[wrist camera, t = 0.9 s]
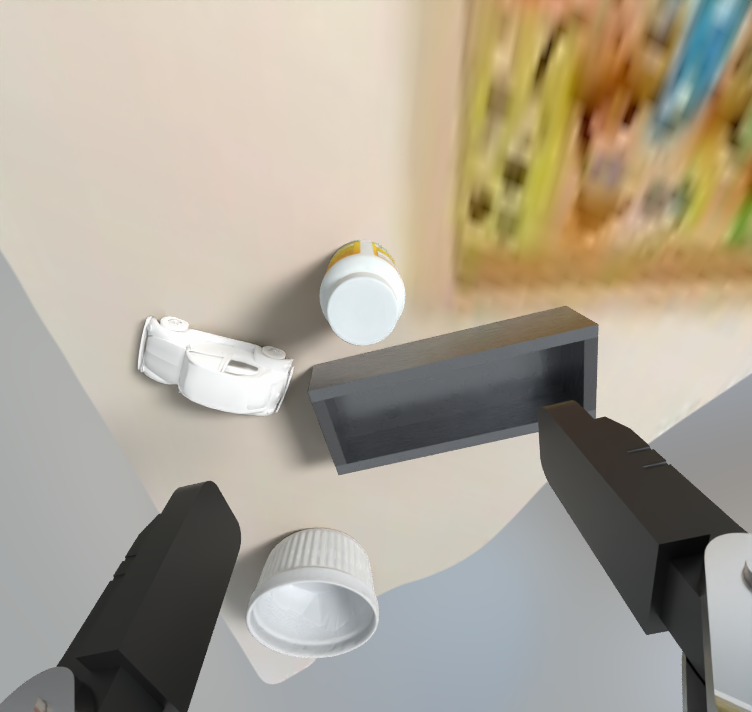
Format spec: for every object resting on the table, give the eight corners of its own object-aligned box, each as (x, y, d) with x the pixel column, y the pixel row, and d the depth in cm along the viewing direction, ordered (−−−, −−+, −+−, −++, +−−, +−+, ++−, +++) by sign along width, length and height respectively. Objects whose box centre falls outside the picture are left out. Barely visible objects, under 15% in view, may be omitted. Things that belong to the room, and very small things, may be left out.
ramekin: (273, 598, 46) (260, 665, 39) (249, 524, 40) (229, 587, 34) (379, 588, 46) (383, 653, 39) (370, 512, 40) (373, 573, 34)
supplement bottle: (401, 243, 28) (420, 270, 19) (390, 310, 30) (403, 361, 22) (330, 234, 27) (317, 257, 19) (324, 302, 30) (311, 352, 21)
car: (300, 353, 32) (291, 379, 28) (279, 410, 34) (268, 441, 30) (156, 303, 29) (122, 323, 25) (144, 367, 32) (111, 395, 27)
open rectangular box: (313, 365, 32) (307, 391, 28) (566, 305, 31) (598, 324, 27) (340, 441, 36) (338, 475, 32) (567, 391, 34) (595, 419, 30)
